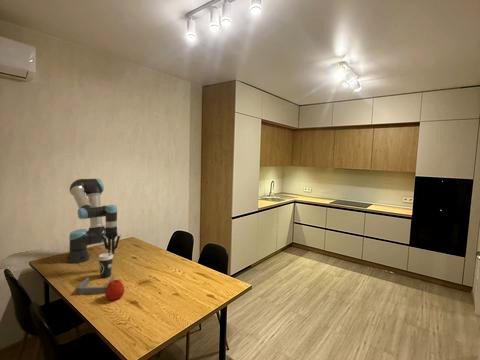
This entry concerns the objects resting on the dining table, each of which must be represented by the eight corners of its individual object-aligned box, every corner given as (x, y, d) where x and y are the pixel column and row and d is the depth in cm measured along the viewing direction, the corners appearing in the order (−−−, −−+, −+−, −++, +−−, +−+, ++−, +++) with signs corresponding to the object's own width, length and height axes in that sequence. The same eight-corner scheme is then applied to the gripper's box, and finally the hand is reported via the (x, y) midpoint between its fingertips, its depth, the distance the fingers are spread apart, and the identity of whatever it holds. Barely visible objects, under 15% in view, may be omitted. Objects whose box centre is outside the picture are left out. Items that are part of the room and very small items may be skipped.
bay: (87, 282, 170) (86, 277, 170) (113, 282, 172) (113, 277, 172) (76, 294, 156) (76, 288, 156) (105, 293, 158) (105, 287, 158)
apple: (111, 304, 147) (111, 286, 146) (101, 298, 152) (101, 281, 152) (127, 296, 156) (127, 279, 155) (117, 291, 161) (117, 275, 160)
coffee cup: (106, 280, 175) (106, 258, 174) (94, 278, 177) (94, 256, 176) (116, 274, 184) (116, 253, 183) (104, 272, 186) (104, 251, 185)
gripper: (99, 227, 184) (99, 260, 186) (119, 227, 186) (119, 259, 188) (103, 225, 192) (103, 256, 193) (122, 225, 194) (122, 256, 195)
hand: (111, 258), depth 190 cm, fingers closed
